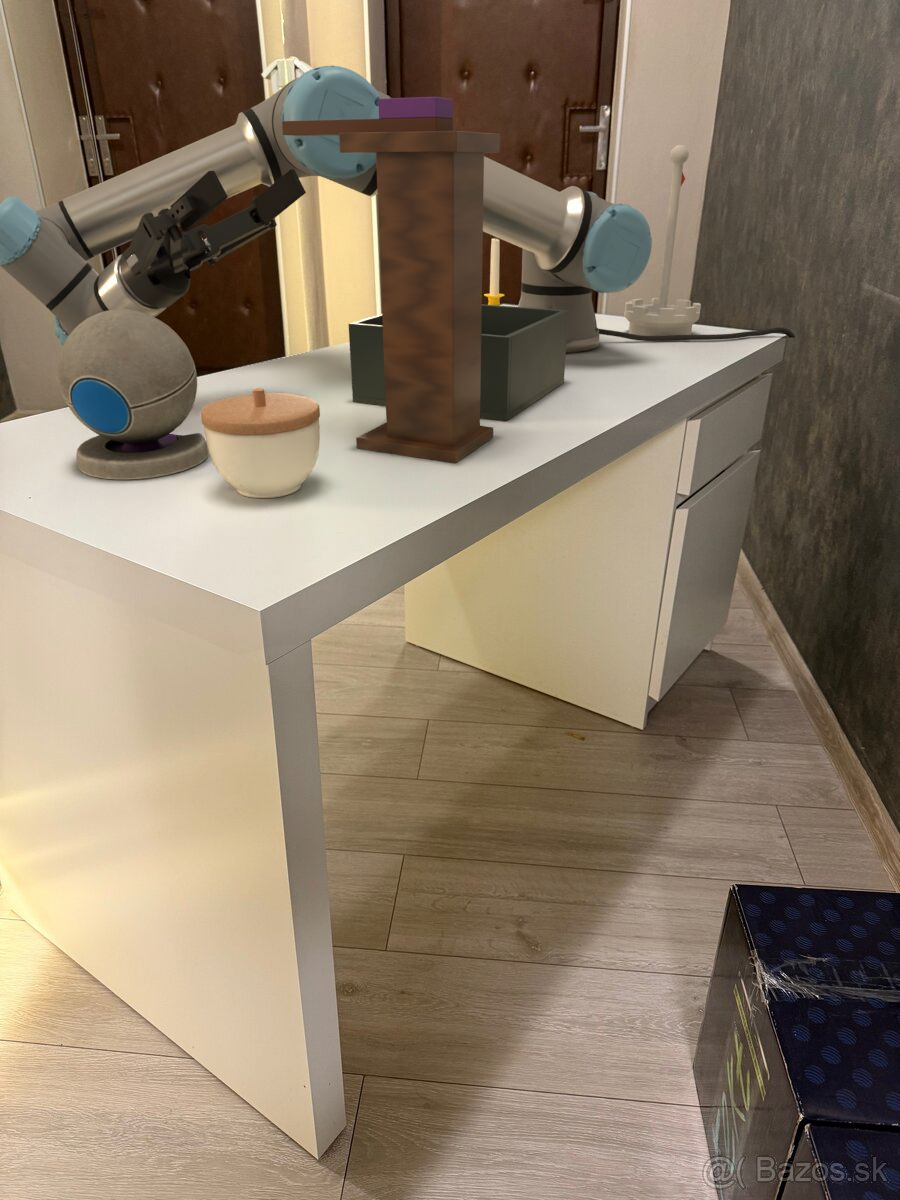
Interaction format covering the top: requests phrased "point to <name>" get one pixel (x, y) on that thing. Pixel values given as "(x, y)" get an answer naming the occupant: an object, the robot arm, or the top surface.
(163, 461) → the webcam
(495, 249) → the candle
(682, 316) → the flag stand
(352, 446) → the top surface
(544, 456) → the top surface
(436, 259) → the shelf stand
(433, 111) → the scrub brush
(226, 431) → the trinket box
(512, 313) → the dark green open box
